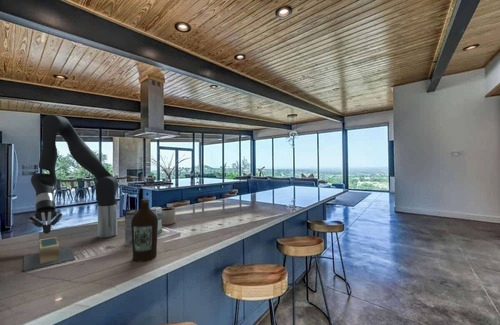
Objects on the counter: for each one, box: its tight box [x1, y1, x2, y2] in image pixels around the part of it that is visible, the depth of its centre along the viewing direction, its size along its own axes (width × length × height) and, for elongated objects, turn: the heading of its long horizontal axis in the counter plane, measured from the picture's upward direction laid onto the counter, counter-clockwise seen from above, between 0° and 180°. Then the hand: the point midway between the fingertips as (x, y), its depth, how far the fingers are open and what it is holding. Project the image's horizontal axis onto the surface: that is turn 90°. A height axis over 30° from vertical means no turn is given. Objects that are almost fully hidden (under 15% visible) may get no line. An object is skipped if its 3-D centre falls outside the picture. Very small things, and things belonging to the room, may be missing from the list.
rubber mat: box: [22, 247, 77, 272], centre depth 102 cm, size 18×16×1 cm
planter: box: [161, 207, 177, 226], centre depth 161 cm, size 11×11×10 cm
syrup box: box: [149, 206, 163, 234], centre depth 139 cm, size 6×6×14 cm
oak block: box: [38, 236, 60, 264], centre depth 103 cm, size 6×6×16 cm
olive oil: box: [131, 198, 158, 262], centre depth 103 cm, size 11×11×25 cm
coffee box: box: [124, 209, 140, 247], centre depth 122 cm, size 9×6×16 cm
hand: (47, 232), depth 112 cm, fingers closed
